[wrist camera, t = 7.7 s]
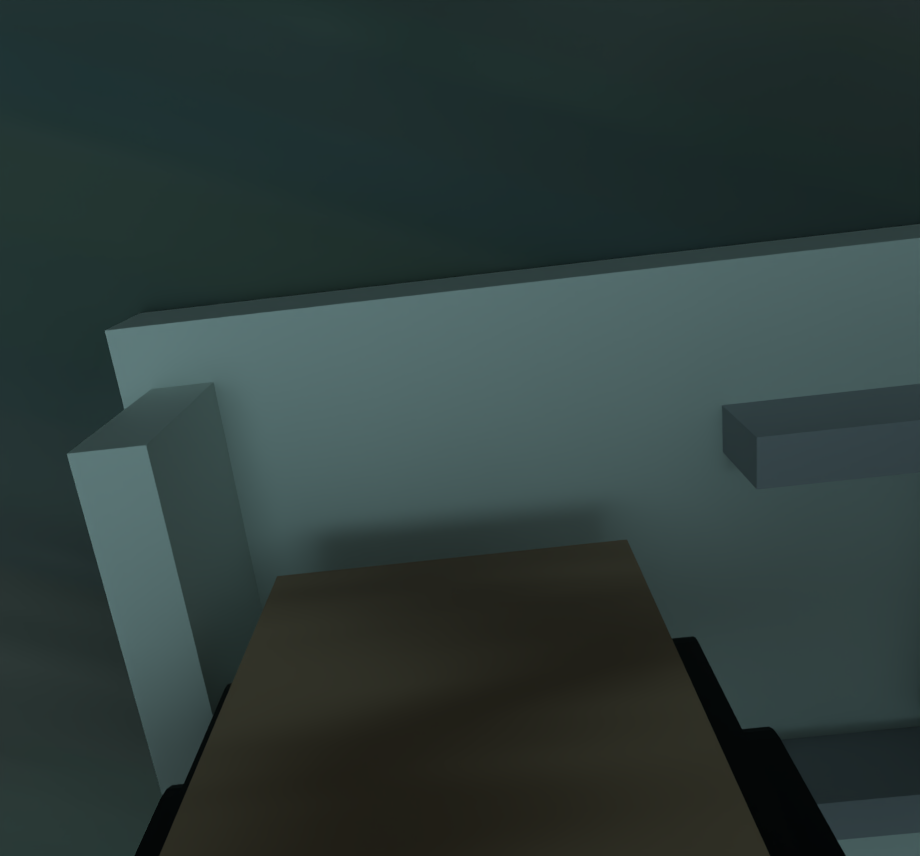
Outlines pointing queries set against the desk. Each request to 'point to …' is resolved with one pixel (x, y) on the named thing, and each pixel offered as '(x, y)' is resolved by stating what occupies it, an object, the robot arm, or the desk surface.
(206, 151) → the desk surface
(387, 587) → the block
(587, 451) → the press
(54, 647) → the desk surface
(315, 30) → the desk surface
